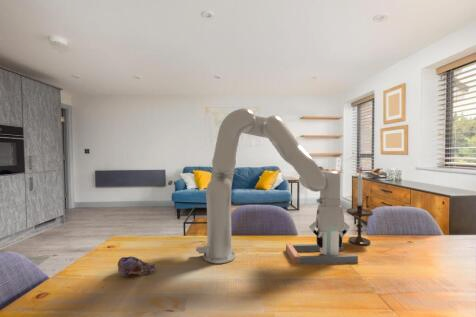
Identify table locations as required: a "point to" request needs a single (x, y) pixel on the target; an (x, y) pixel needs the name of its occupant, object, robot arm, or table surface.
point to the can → (330, 242)
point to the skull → (133, 266)
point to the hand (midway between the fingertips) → (329, 245)
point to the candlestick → (359, 216)
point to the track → (322, 259)
